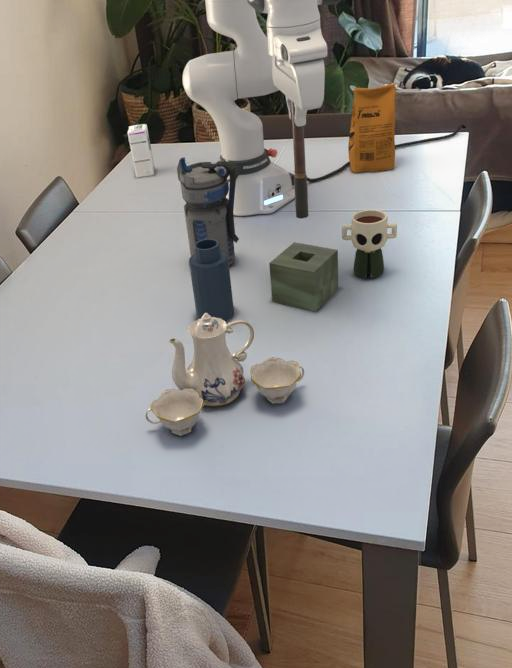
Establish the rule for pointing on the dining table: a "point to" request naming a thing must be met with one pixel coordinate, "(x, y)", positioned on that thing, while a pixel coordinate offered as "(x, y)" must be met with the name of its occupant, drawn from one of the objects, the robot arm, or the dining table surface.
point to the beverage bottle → (209, 203)
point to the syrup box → (141, 150)
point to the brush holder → (304, 276)
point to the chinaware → (217, 376)
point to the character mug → (369, 240)
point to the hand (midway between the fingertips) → (297, 122)
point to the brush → (299, 169)
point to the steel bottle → (211, 280)
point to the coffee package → (372, 129)
